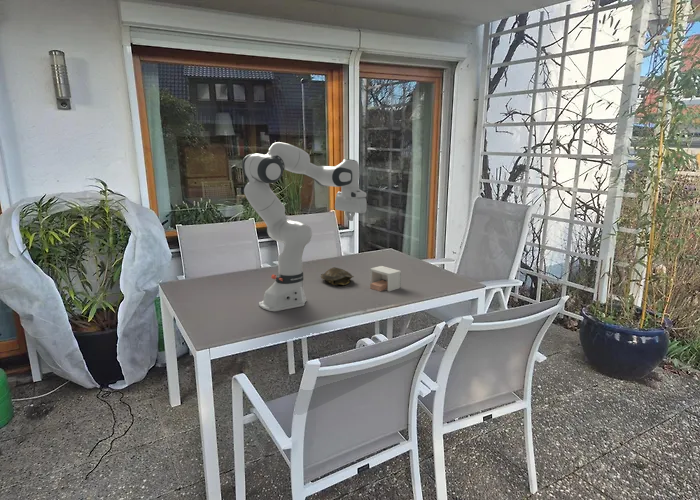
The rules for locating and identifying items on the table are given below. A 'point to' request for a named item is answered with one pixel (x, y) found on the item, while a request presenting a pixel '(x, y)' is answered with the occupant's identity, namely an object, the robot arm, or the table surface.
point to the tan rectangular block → (379, 285)
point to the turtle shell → (337, 276)
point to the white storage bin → (386, 276)
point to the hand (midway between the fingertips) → (350, 220)
